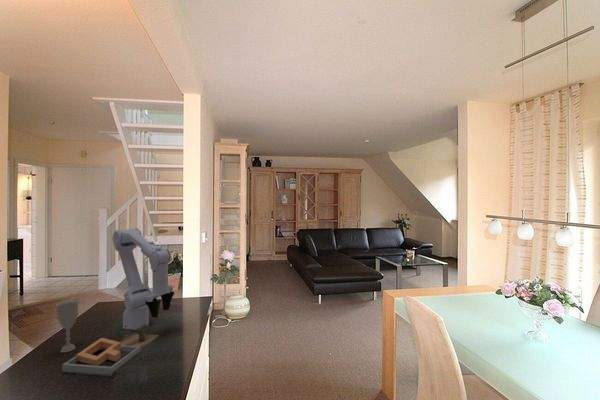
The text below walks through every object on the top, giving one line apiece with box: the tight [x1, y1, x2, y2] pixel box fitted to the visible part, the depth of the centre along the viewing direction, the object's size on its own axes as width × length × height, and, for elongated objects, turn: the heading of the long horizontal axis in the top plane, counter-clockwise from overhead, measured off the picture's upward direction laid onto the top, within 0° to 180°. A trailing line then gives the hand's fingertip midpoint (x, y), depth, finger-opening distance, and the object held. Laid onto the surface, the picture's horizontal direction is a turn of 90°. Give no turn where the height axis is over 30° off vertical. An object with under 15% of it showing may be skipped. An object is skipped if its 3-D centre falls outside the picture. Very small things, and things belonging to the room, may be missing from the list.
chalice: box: [55, 299, 80, 353], centre depth 106 cm, size 7×7×18 cm
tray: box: [61, 345, 142, 378], centre depth 99 cm, size 18×14×3 cm
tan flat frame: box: [76, 337, 122, 366], centre depth 100 cm, size 13×9×2 cm
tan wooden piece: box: [119, 324, 160, 349], centre depth 112 cm, size 12×10×6 cm
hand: (160, 313), depth 118 cm, fingers open, 7 cm apart
